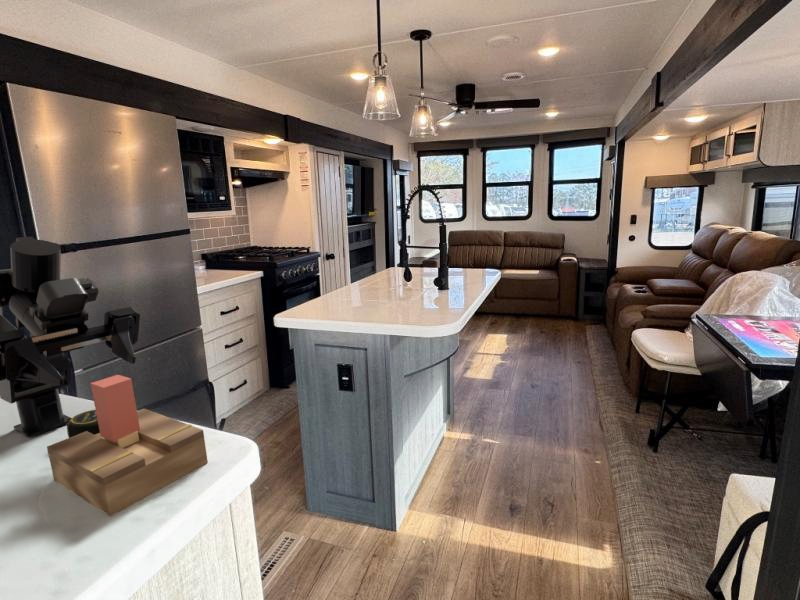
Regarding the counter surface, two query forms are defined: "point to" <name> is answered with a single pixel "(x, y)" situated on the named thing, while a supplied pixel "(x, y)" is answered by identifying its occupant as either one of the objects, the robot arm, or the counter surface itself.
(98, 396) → the red tall block
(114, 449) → the grooved wooden block
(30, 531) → the counter surface
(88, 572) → the counter surface
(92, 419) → the tape measure
